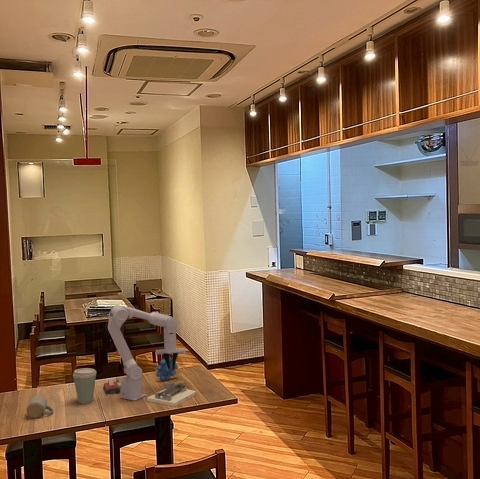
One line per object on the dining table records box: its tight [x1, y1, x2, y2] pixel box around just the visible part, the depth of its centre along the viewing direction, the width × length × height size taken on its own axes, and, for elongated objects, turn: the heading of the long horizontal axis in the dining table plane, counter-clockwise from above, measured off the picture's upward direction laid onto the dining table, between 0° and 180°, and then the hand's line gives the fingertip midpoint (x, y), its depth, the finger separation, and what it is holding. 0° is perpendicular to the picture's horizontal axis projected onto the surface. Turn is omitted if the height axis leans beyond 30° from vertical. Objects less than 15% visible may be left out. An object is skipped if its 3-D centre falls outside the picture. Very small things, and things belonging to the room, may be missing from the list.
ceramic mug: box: [26, 395, 55, 419], centre depth 224 cm, size 11×8×8 cm
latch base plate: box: [146, 381, 198, 407], centre depth 240 cm, size 16×17×4 cm
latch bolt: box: [174, 380, 187, 386], centre depth 244 cm, size 4×3×1 cm
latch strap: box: [159, 384, 186, 397], centre depth 240 cm, size 15×4×1 cm, turn 150°
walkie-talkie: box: [103, 378, 122, 396], centre depth 256 cm, size 9×4×20 cm
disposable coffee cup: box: [72, 367, 97, 405], centre depth 239 cm, size 11×11×15 cm
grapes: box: [155, 356, 179, 381], centre depth 266 cm, size 12×7×12 cm, turn 114°
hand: (171, 368), depth 251 cm, fingers closed
